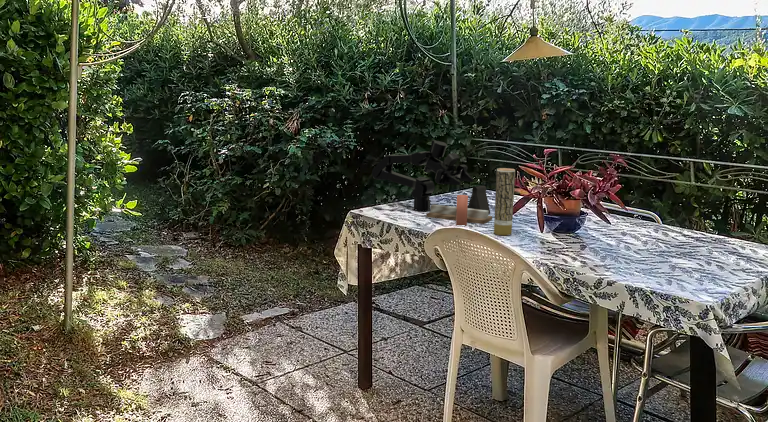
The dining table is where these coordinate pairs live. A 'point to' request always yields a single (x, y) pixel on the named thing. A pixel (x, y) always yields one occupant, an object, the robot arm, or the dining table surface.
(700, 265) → the dining table surface
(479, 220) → the ridge board
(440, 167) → the robot arm
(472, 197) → the door stopper
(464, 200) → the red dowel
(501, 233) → the bark log
